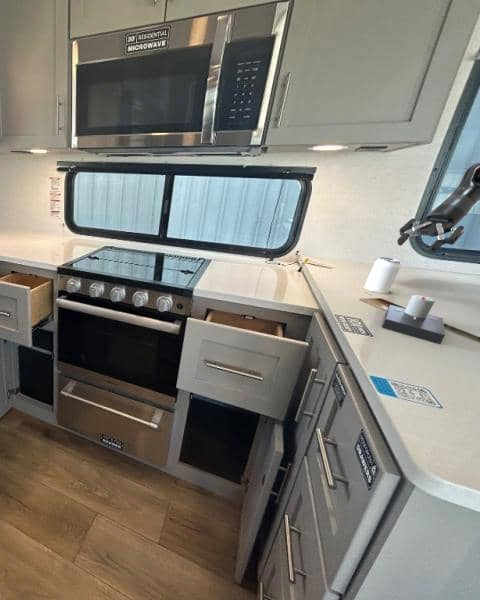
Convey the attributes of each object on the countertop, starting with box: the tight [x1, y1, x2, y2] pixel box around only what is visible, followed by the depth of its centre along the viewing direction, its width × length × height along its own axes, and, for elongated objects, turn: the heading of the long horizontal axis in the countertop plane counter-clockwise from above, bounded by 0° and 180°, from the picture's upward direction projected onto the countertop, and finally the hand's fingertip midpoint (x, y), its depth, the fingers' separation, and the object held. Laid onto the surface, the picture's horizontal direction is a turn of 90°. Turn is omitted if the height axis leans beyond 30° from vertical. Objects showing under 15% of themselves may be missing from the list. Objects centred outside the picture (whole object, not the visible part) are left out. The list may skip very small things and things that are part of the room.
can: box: [364, 256, 402, 296], centre depth 109 cm, size 6×6×12 cm
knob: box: [405, 294, 436, 318], centre depth 88 cm, size 4×4×5 cm
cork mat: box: [359, 297, 407, 312], centre depth 101 cm, size 12×12×1 cm
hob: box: [381, 305, 446, 345], centre depth 88 cm, size 15×11×3 cm
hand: (414, 246), depth 109 cm, fingers open, 8 cm apart
